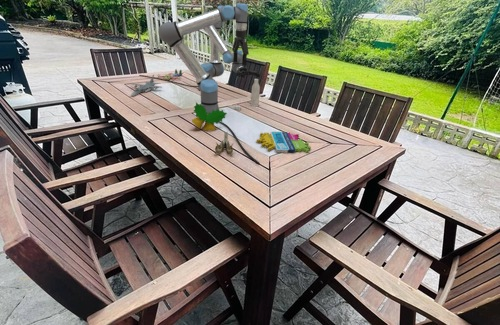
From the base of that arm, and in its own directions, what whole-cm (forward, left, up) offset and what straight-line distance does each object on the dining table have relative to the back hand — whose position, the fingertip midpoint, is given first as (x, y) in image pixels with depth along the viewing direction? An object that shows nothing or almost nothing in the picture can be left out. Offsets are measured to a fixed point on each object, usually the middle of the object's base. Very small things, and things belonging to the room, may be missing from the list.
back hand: (251, 76), depth 211 cm
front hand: (+7, -23, +12) cm, 27 cm away
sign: (+66, -48, -21) cm, 85 cm away
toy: (-111, -1, -21) cm, 113 cm away
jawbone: (+52, -81, -21) cm, 98 cm away
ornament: (+23, -66, -21) cm, 73 cm away
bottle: (+8, -4, -21) cm, 23 cm away
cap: (+7, -23, -19) cm, 31 cm away
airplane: (-79, -50, -21) cm, 96 cm away
